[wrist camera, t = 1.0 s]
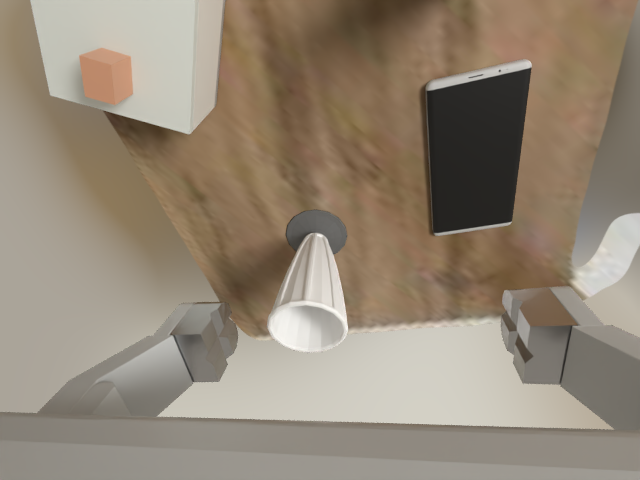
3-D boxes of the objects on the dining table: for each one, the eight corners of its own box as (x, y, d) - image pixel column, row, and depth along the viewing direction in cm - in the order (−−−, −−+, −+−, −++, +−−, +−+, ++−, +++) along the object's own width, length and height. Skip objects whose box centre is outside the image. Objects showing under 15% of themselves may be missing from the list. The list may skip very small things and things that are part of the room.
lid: (0, -187, 27) (-58, -212, 23) (203, -112, 29) (182, -123, 25) (55, 92, 41) (25, 106, 37) (192, 131, 43) (177, 148, 39)
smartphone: (431, 232, 64) (433, 237, 63) (423, 80, 48) (426, 84, 46) (508, 220, 61) (512, 226, 60) (528, 56, 45) (534, 59, 44)
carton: (77, -156, 35) (1, -190, 27) (233, -98, 37) (204, -114, 29) (102, 71, 49) (56, 92, 41) (216, 105, 51) (193, 130, 43)
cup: (359, 236, 64) (365, 332, 48) (317, 266, 70) (308, 362, 53) (315, 197, 60) (304, 289, 43) (273, 233, 65) (249, 327, 48)
